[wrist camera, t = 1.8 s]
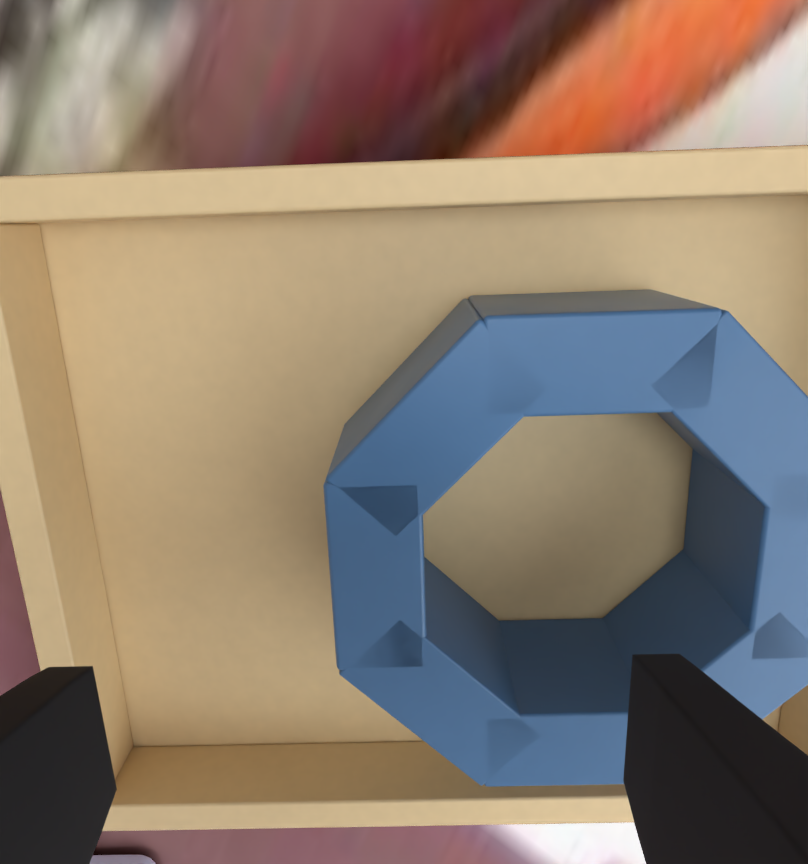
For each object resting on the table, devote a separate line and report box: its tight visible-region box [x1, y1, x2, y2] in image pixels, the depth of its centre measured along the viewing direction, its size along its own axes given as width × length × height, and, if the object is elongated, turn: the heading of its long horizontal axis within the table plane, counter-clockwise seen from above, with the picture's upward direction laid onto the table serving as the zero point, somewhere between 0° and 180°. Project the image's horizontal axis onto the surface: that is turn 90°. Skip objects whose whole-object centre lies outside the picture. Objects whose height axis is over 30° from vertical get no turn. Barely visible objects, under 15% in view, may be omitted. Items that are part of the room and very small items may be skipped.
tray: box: [0, 145, 808, 831], centre depth 15 cm, size 15×19×2 cm
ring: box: [323, 289, 808, 787], centre depth 15 cm, size 10×10×4 cm
